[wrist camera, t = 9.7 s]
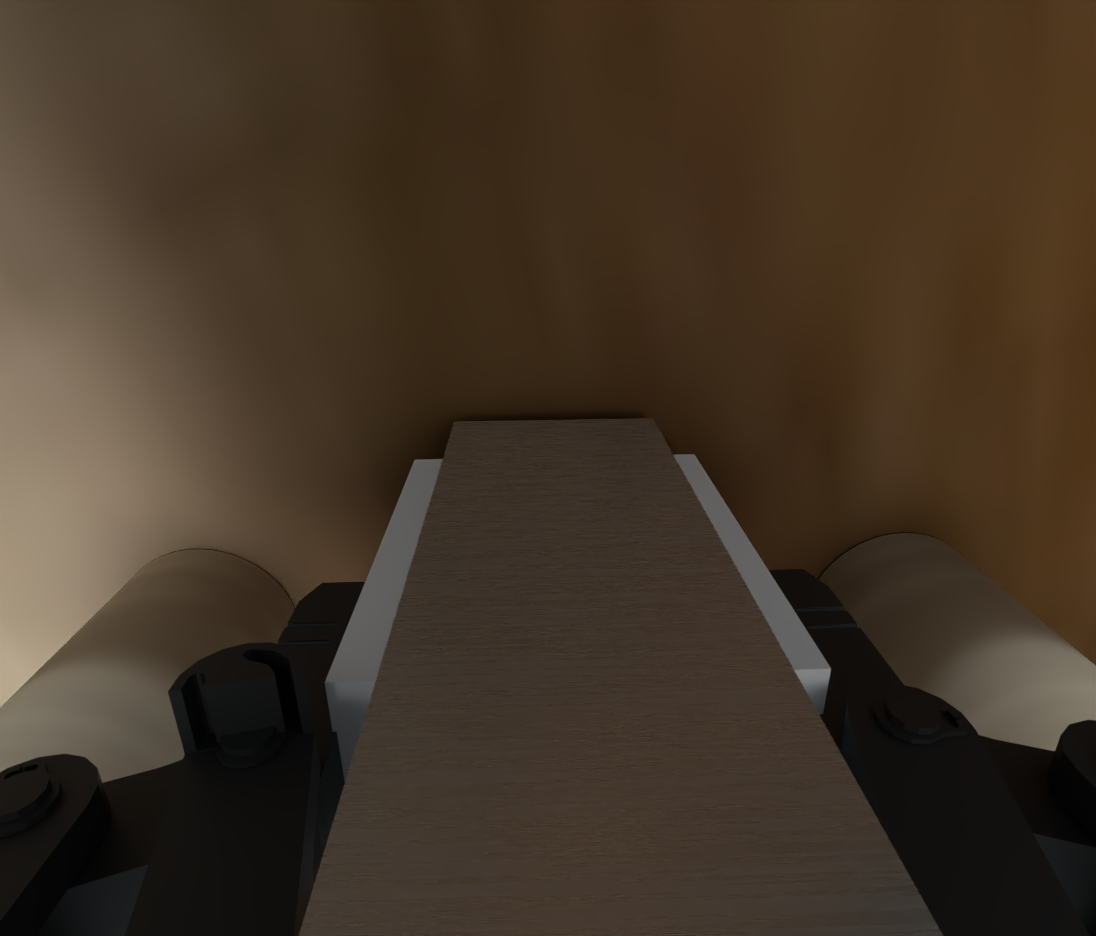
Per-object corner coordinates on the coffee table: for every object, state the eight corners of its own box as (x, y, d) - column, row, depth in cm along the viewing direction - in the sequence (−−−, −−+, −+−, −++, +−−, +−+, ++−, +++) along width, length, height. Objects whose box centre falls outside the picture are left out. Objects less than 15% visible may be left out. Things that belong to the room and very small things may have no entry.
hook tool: (454, 421, 14) (153, 1415, 3) (653, 417, 14) (1181, 1360, 3) (482, 871, 19) (419, 1891, 7) (629, 866, 19) (784, 1863, 8)
